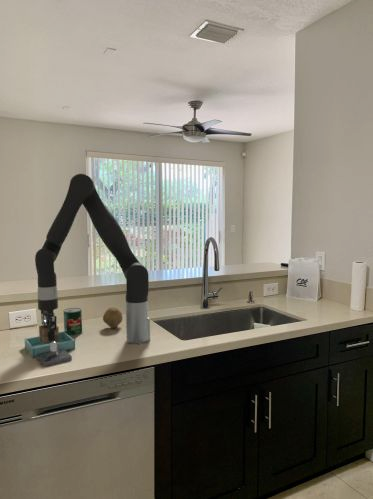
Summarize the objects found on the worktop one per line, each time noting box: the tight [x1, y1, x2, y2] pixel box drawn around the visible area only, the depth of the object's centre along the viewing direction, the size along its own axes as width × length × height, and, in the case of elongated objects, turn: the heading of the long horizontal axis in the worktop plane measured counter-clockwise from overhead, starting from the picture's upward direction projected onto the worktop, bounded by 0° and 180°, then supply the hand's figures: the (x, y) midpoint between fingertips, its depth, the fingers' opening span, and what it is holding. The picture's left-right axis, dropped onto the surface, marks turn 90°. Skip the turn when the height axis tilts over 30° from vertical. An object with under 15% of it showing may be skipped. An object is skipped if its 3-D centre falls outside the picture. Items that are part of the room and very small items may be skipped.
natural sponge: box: [102, 306, 123, 329], centre depth 175 cm, size 9×9×10 cm
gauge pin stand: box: [36, 342, 73, 368], centre depth 136 cm, size 10×10×7 cm
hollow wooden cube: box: [38, 324, 60, 344], centre depth 148 cm, size 6×6×6 cm
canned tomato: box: [63, 307, 83, 337], centre depth 166 cm, size 8×8×11 cm
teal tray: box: [24, 331, 76, 359], centre depth 148 cm, size 16×14×4 cm
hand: (49, 338), depth 148 cm, fingers closed on hollow wooden cube, 6 cm apart
